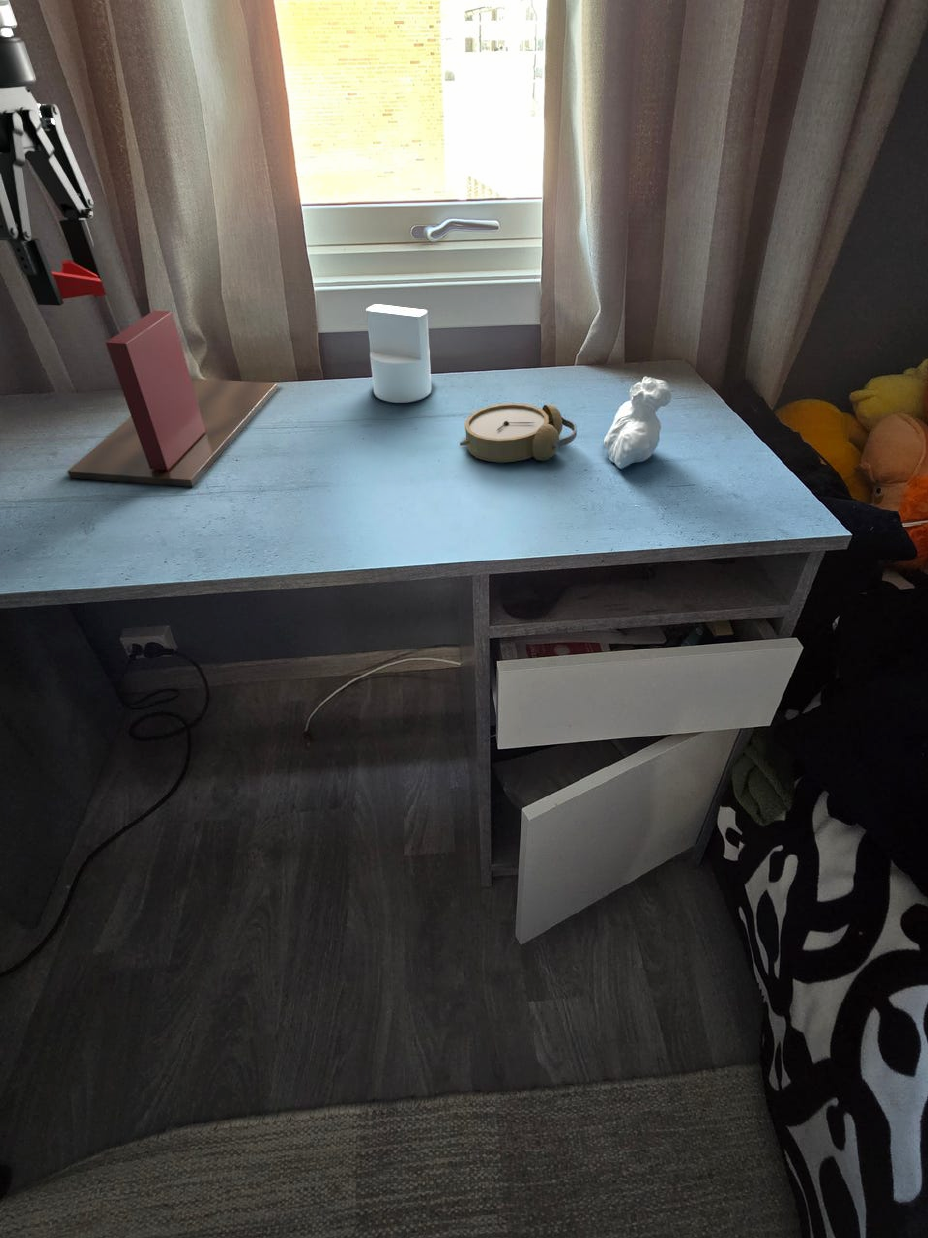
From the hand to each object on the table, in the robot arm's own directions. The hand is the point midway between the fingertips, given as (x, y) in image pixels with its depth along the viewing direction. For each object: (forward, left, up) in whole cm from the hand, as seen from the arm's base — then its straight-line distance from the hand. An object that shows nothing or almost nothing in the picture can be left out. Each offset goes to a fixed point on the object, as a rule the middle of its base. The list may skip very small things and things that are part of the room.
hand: (72, 292), depth 80 cm
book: (+5, -4, -20) cm, 21 cm away
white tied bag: (+56, -36, -21) cm, 70 cm away
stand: (+8, +4, -21) cm, 23 cm away
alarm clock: (+45, -26, -21) cm, 57 cm away
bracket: (0, 0, 0) cm, 0 cm away
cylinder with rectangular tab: (+40, -1, -21) cm, 45 cm away
